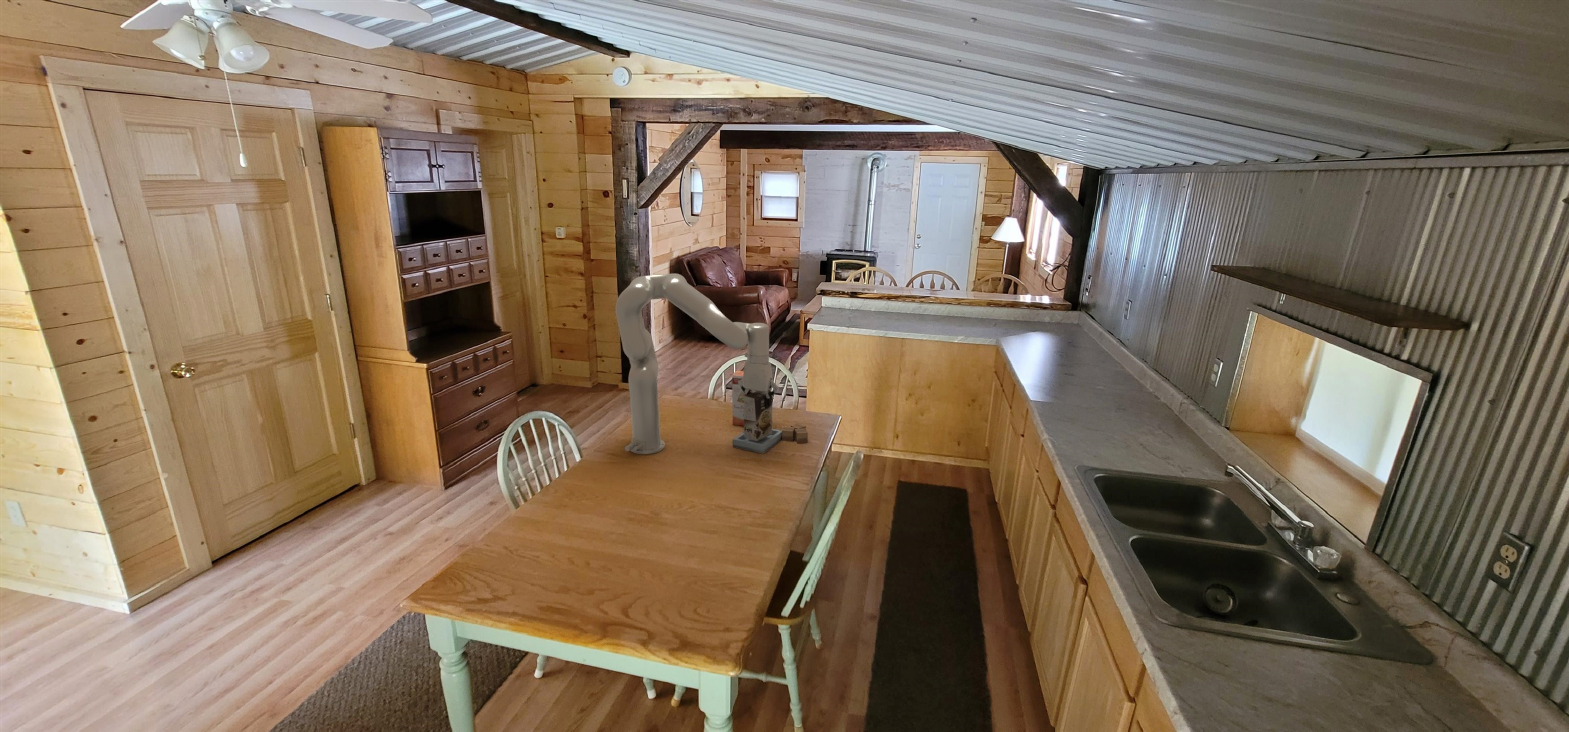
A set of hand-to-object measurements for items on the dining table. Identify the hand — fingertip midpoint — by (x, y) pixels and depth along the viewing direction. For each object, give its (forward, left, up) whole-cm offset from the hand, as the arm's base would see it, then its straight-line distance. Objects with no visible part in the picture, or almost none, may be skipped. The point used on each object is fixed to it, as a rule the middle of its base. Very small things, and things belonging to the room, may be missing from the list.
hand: (758, 405), depth 232 cm
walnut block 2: (+13, -10, -15) cm, 22 cm away
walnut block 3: (+9, -13, -15) cm, 21 cm away
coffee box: (0, 0, -12) cm, 12 cm away
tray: (0, 0, -14) cm, 14 cm away
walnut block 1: (+9, -8, -15) cm, 19 cm away
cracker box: (+15, +11, -15) cm, 23 cm away
